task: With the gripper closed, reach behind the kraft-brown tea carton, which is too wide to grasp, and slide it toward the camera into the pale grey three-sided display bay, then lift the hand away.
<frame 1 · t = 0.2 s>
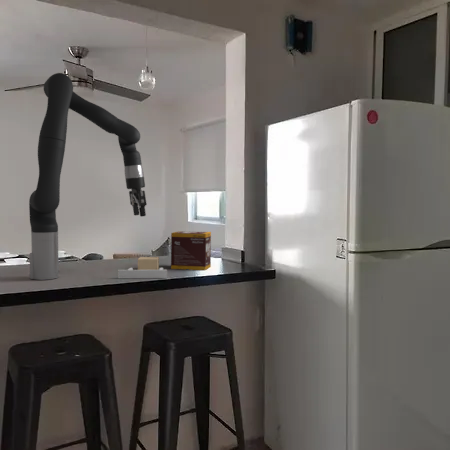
hand: (139, 215, 186), 23 cm above the breakfast bar, tool pointing down, fingers open, 8 cm apart
display stand: (144, 275, 174), on the breakfast bar
carton: (148, 269, 189), on the breakfast bar
supplement box: (191, 268, 194), on the breakfast bar
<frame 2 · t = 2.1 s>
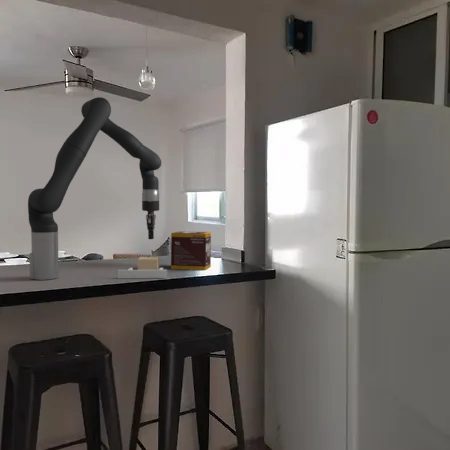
hand: (151, 239, 198), 12 cm above the breakfast bar, tool pointing down, fingers closed
nothing on the breakfast bar moved.
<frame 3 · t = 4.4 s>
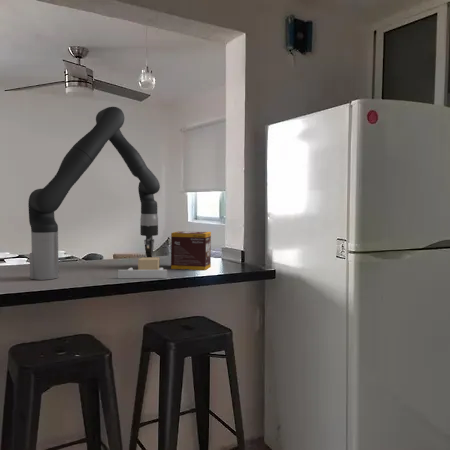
hand: (149, 264, 194), 1 cm above the breakfast bar, tool pointing down, fingers closed
carton: (149, 270, 188), on the breakfast bar
everything else where it was.
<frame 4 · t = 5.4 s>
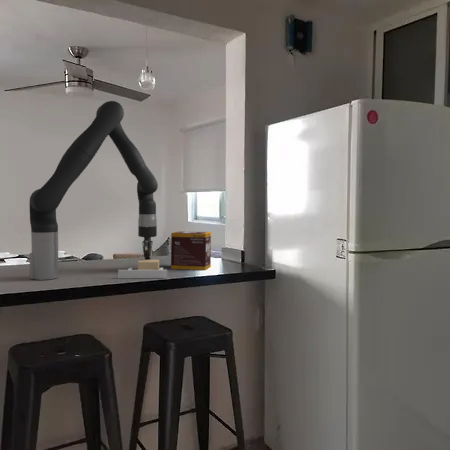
hand: (147, 266, 186), 1 cm above the breakfast bar, tool pointing down, fingers closed
carton: (148, 273, 181), on the breakfast bar, touching gripper
everything else where it was.
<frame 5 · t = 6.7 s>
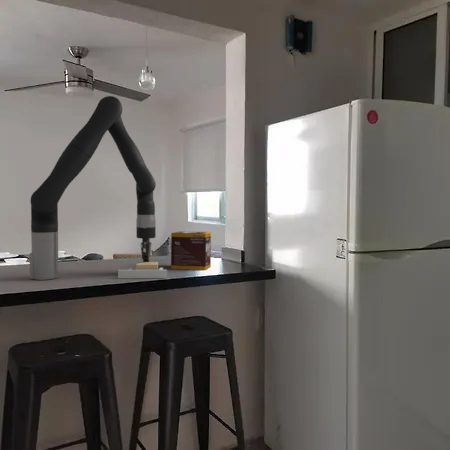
hand: (146, 269, 179), 2 cm above the breakfast bar, tool pointing down, fingers closed
carton: (147, 276, 173), on the breakfast bar
everything else where it was.
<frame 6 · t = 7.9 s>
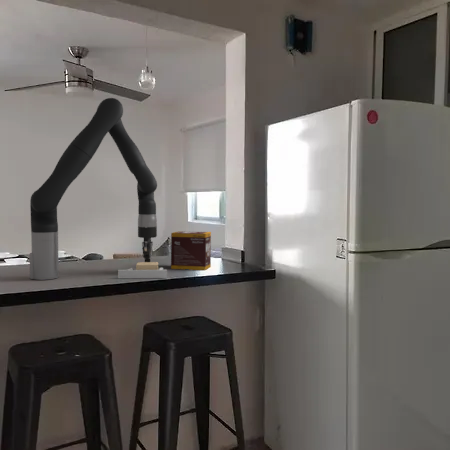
hand: (147, 268, 182), 2 cm above the breakfast bar, tool pointing down, fingers closed
nothing on the breakfast bar moved.
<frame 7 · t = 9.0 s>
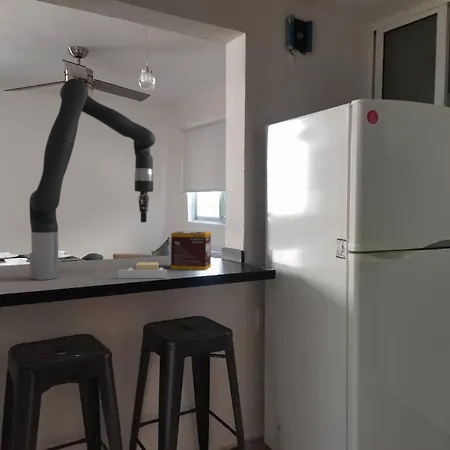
hand: (143, 222, 184), 20 cm above the breakfast bar, tool pointing down, fingers closed
nothing on the breakfast bar moved.
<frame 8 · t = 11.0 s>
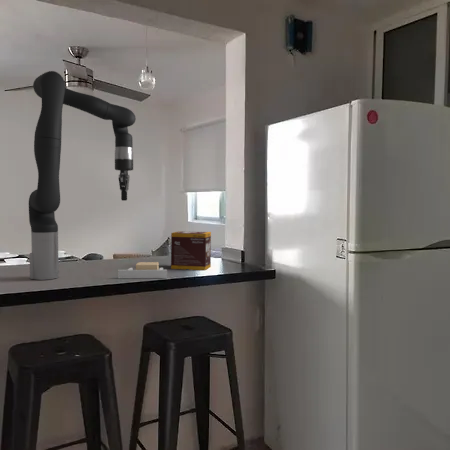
hand: (124, 200, 186), 29 cm above the breakfast bar, tool pointing down, fingers closed
nothing on the breakfast bar moved.
at the end: carton 1.2 cm off-centre on the display stand, point 0.0 cm above the display stand's base; carton tilted 0°; the gripper is holding nothing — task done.
